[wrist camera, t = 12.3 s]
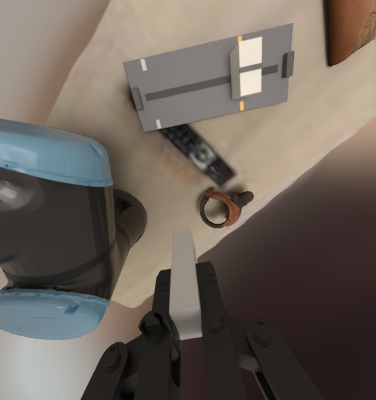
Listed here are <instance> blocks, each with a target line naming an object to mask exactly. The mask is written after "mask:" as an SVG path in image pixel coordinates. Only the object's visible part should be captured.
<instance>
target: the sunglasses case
mask: <svg viewBox="0 0 376 400" xmlns="http://www.w3.org/2000/svg"><path fill="white" fill-rule="evenodd" d="M327 10H328V32H329V54H330V66H333V65H336V64H338V63H340V62H342V61H344V60H345V59H346V58H348V57H349V56H350V55H351V54H353V53H354V52H355V51H357V50H358V49H360V48H361V47H363V46H365V45H366V44H367V43H369V42H370V41H371V40H375V37H376V0H327Z"/></svg>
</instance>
